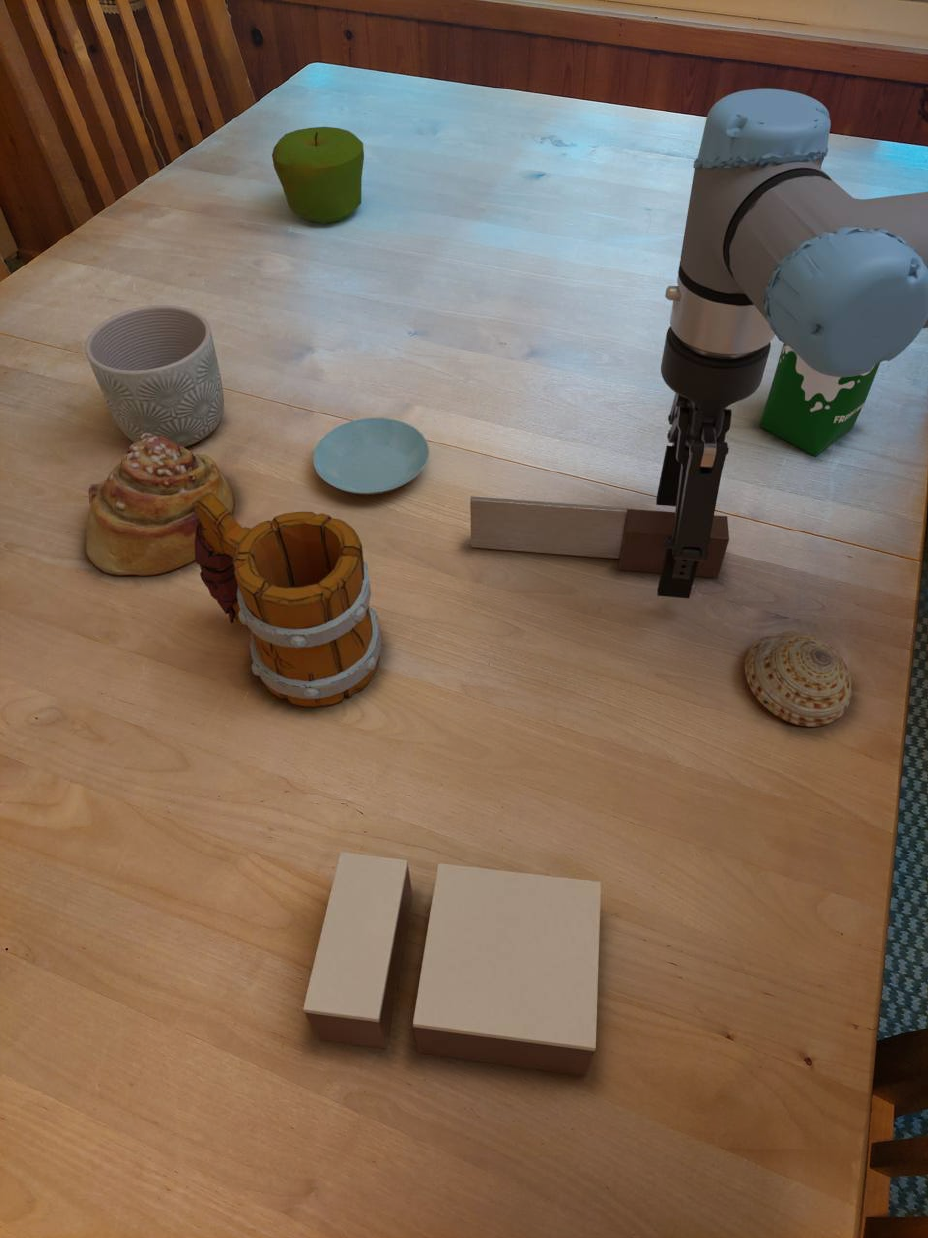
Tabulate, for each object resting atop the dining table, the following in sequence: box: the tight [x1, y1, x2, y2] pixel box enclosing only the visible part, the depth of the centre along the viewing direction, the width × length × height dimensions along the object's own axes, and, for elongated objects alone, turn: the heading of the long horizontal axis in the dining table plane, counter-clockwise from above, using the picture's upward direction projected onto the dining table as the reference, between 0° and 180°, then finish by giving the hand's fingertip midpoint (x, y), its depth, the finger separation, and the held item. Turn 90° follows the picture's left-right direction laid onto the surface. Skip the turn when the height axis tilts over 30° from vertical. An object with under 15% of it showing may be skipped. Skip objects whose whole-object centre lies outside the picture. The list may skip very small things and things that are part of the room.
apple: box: [271, 126, 365, 224], centre depth 127 cm, size 12×12×11 cm
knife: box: [469, 496, 730, 579], centre depth 82 cm, size 23×3×6 cm, turn 83°
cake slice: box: [302, 851, 414, 1050], centre depth 58 cm, size 10×4×6 cm, turn 173°
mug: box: [192, 492, 382, 708], centre depth 72 cm, size 11×16×15 cm, turn 61°
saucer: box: [312, 417, 430, 495], centre depth 92 cm, size 12×12×2 cm
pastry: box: [85, 433, 236, 577], centre depth 85 cm, size 13×15×8 cm
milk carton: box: [758, 343, 881, 457], centre depth 89 cm, size 9×9×20 cm
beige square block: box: [412, 862, 602, 1077], centre depth 57 cm, size 10×10×6 cm
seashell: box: [744, 631, 853, 728], centre depth 74 cm, size 8×6×8 cm
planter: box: [84, 304, 225, 448], centre depth 94 cm, size 12×12×11 cm
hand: (671, 546), depth 82 cm, fingers open, 11 cm apart
